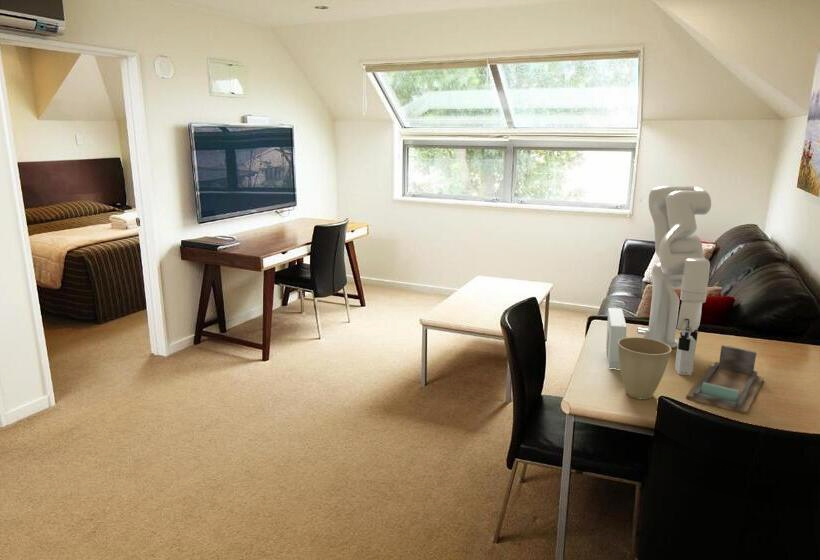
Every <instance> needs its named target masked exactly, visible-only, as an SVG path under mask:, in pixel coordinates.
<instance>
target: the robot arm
mask: <svg viewBox="0 0 820 560" xmlns="http://www.w3.org/2000/svg"><path fill="white" fill-rule="evenodd" d="M711 207H712V199H711V196H710V194H709V192H708V191H707V190H705V189H704V188H701V187H700V186H694V185H693V186H690V185H661V186H656V187H653V188H652V189H651V190H650V191H649V195H648V209H649V213H650V216H651V219H652V221H653V226H654V247H655V255H656V256H657V257H658V258H659V262H656V264H654V265H653V267H652V272H651V279H652V280H651V281H652V290H651V291H652V293H651V304H650V314H649V319H648V320H649V322H648V328H643V327H640V326H639V327H637V328H636V332H637V334H638V335H644V336H643V337H642V338H648V339H653V340H657V341H660V342H663V343H665V344H667V345H669V346H670V347H671V349H673V348H677V346H678V349H679V350H684V351H689V347H690V339H689V338H690V336H692V337H693V338H694V339H695V340H696V343H698V342H697V341H698V334H699V332H698V331H699V326H700V323H701V318H702V307H703V304H704V303H706V301H707V295H708V294H707V293H708V285H709V277H710V270H711V269H710V268H711V262H710V260H708V259H707V258H706V257H705V256H704V250H703V249H704V248H703V243H702V241H701V239H700V237H699V236H698V235H696V234H694V233H695V232H696V231H697V222H696V216H697V215H698V216H700V215H701V216H702V215H703V216H704V215H707V214H708V213H709V212H710V211H711ZM677 288H680V296H679V295H678V293H676V291H675V290H674V289H677ZM680 300H681V304H680ZM679 307H680V309H679ZM677 330H678V331H680V332H679V333H680V334H679V335H680V337H679V336H678V339H679V345H678V339H676V333H677Z"/></svg>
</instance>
